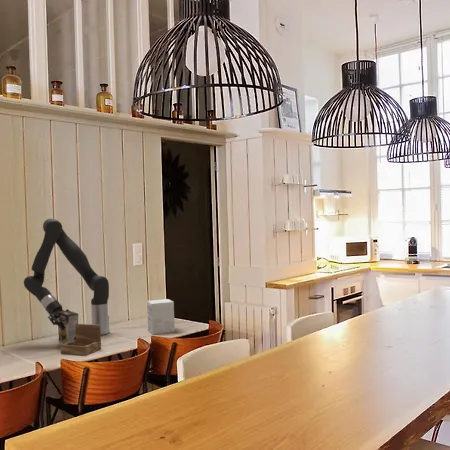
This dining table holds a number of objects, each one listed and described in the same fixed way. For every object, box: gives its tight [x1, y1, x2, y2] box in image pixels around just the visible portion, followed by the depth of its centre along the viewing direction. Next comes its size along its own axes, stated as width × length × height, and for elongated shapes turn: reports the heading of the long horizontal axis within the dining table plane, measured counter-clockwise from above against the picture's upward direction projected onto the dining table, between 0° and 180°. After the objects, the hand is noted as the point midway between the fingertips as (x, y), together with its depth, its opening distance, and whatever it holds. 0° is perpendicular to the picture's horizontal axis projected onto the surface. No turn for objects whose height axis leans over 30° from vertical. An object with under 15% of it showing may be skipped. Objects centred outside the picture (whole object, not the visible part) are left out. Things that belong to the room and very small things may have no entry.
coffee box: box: [58, 310, 79, 345], centre depth 256 cm, size 9×6×16 cm
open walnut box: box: [60, 323, 102, 356], centre depth 243 cm, size 13×14×12 cm
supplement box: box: [146, 298, 176, 335], centre depth 283 cm, size 13×13×18 cm
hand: (69, 327), depth 256 cm, fingers closed on coffee box, 8 cm apart
